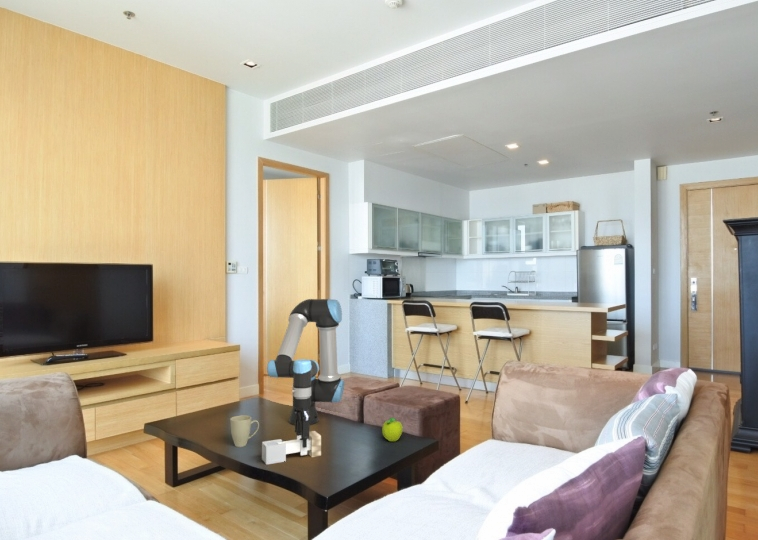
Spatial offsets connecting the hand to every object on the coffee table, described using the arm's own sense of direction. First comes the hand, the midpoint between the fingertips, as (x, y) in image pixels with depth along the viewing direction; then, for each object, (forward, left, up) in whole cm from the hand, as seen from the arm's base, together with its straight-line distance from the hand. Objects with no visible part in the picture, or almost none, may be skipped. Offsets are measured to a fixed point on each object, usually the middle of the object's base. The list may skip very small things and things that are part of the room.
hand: (301, 452), depth 204 cm
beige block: (-5, 0, -1) cm, 5 cm away
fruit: (-43, +1, -1) cm, 43 cm away
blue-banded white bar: (+2, 0, +1) cm, 3 cm away
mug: (+19, -25, -1) cm, 31 cm away
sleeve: (+12, 0, -1) cm, 12 cm away
